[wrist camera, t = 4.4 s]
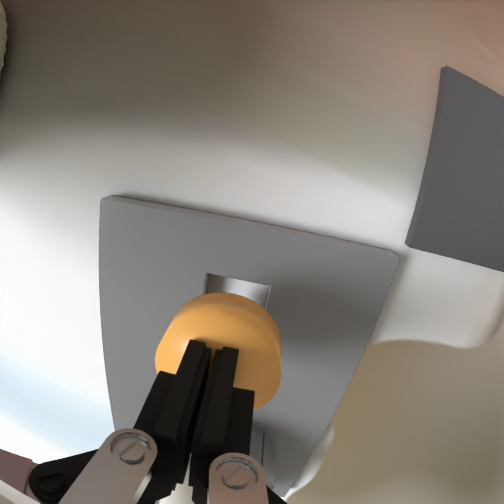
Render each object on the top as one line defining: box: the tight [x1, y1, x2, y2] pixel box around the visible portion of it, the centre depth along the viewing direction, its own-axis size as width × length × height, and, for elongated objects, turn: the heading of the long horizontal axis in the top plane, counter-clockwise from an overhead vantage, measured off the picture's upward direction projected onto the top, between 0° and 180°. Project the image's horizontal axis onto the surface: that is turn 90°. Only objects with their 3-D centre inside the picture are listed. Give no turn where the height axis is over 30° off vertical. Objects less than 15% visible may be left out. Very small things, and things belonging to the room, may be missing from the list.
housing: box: [99, 195, 400, 497], centre depth 16 cm, size 14×22×4 cm, turn 169°
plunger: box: [155, 292, 281, 411], centre depth 12 cm, size 4×4×4 cm
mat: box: [405, 66, 504, 272], centre depth 12 cm, size 9×9×1 cm
